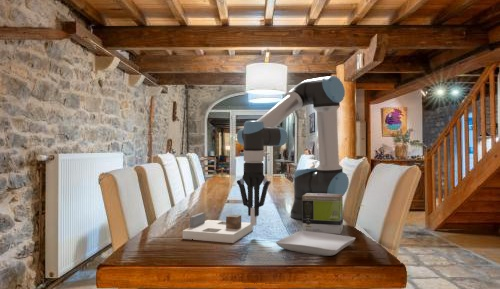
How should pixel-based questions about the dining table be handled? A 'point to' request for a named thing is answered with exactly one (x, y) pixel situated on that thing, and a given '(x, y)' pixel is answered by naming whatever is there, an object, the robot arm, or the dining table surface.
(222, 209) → the dining table surface
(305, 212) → the tea box
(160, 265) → the dining table surface
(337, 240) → the salad plate
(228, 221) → the walnut block
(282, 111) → the robot arm
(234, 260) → the dining table surface
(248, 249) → the dining table surface
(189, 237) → the platform
